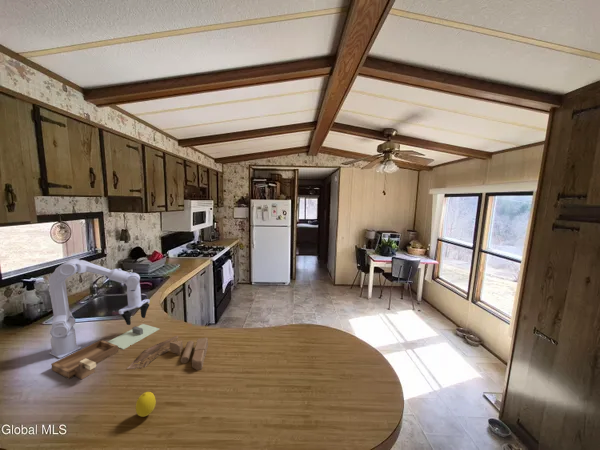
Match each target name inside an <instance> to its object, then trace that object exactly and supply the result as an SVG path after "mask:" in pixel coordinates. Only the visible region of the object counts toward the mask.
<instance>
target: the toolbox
mask: <svg viewBox="0 0 600 450" xmlns="http://www.w3.org/2000/svg"><path fill="white" fill-rule="evenodd" d="M117 353H119V348H118V346H117V345H114V344H112V343H109V342H108V341H105V340H103V339H100V340H98V341H95V342H94V343H91V344H90V345H88V346H85V347H83V348H81V349H78V350H76V351H74V352H72V353H70V354H68V355H66V356H64V357H62V358H59V359H58V360H56V361H54V362H52V363H51V365H50V366H51V370H52V371H53V372H55V373H57V374H58V375H60V376H62V377H64V378H66V379H67V380H70V379H72V378H74V377H76V378H78V379H81V380H84V379H85V378H88V377H89V376H90V375H92V374H94V373H96V370H95V368H96V367H95V368H93V369H91V370H89V369H87V368H85V367H83V364H82V363H80V361H81V360H83V359H85V358H86V359H89V360H91V361H93V362H96V365H97V364H99V363H101V362H103V361H105V360H107V359H108V358H110V357H111V356H113V355H115V354H117Z"/></svg>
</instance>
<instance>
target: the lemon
mask: <svg viewBox="0 0 600 450" xmlns="http://www.w3.org/2000/svg"><path fill="white" fill-rule="evenodd" d="M156 404H157V401H156V396H155V395H154V393H153V392H151V391H145V392H143V393H142V394H141V395H139V397H138V398H137V399H136V404H135V412H136V413H135V414H137V416H139V417H142V418H145V417H147V416H149V415H151V414H152V412H153V411H154V409H155V408H156Z"/></svg>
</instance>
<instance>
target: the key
mask: <svg viewBox="0 0 600 450" xmlns="http://www.w3.org/2000/svg"><path fill="white" fill-rule="evenodd" d="M80 363H82V364H83V367H85V368H87V369H89V370H91V369H93V368H96V367H97V364H96V362H93V361H91V360H89V359H86V358H85V359H83V360H81V361H80Z"/></svg>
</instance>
